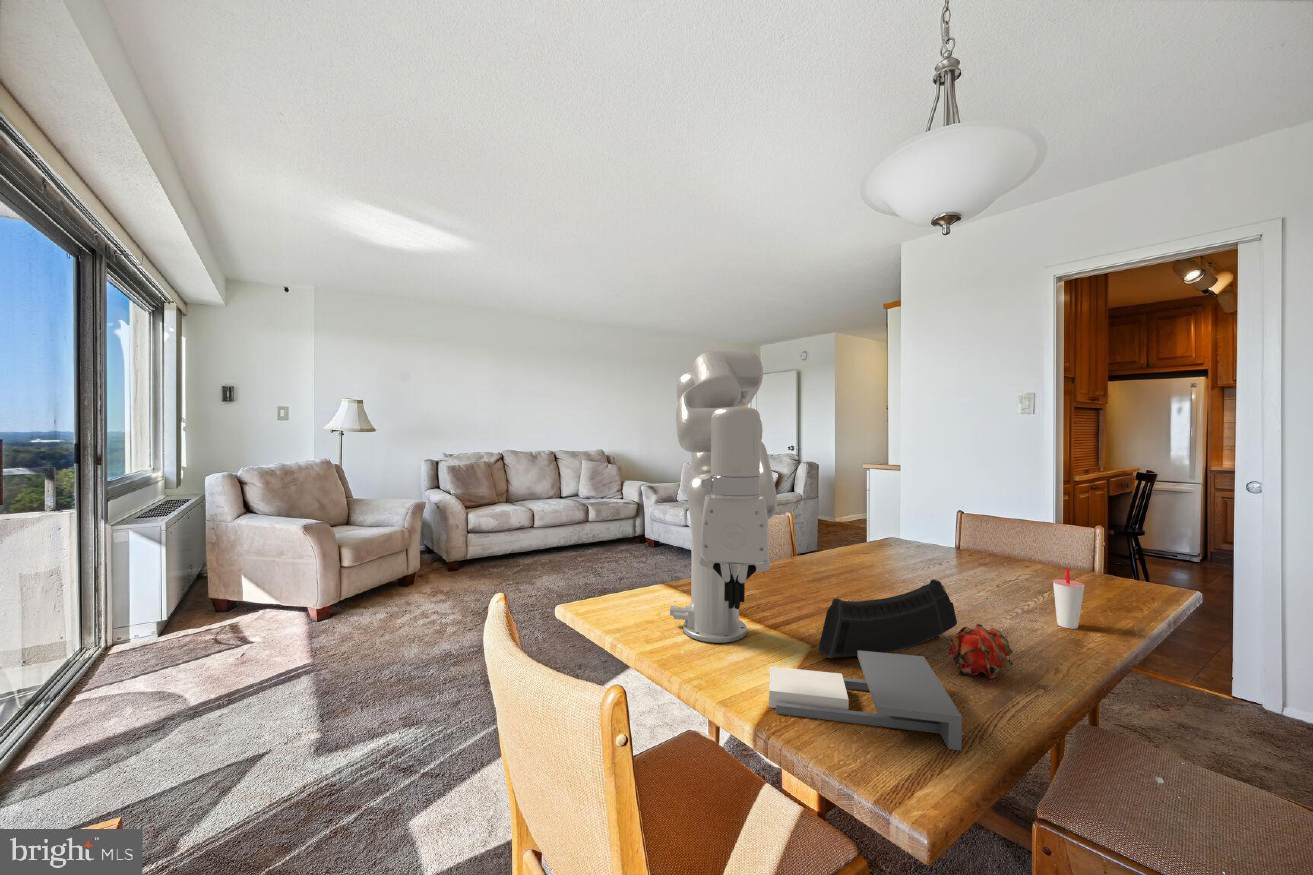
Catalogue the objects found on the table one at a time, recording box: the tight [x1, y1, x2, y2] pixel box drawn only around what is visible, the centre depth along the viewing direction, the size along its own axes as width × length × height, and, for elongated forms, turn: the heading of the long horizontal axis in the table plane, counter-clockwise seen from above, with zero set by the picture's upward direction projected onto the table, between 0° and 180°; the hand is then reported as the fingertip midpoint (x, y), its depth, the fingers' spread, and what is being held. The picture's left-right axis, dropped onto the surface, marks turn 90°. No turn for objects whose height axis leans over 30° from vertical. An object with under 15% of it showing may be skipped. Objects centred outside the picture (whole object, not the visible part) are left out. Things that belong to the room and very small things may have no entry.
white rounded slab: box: [768, 666, 850, 710], centre depth 81 cm, size 11×8×2 cm
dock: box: [775, 650, 963, 751], centre depth 79 cm, size 23×18×4 cm
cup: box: [1052, 568, 1086, 630], centre depth 110 cm, size 5×5×12 cm
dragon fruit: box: [948, 623, 1014, 680], centre depth 89 cm, size 8×8×12 cm
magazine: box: [817, 579, 958, 659], centre depth 99 cm, size 18×3×31 cm
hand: (734, 605), depth 82 cm, fingers closed
